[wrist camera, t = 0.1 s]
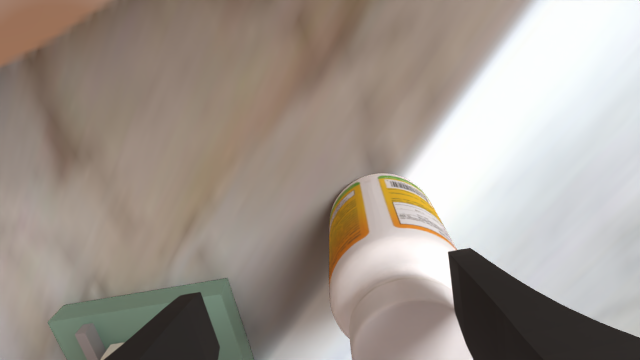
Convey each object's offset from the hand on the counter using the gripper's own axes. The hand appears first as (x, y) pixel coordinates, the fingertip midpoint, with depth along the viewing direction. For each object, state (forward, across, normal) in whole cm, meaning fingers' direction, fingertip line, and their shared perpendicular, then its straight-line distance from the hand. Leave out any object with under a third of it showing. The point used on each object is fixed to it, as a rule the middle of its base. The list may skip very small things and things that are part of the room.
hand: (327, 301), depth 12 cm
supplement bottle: (+10, -2, +3) cm, 11 cm away
